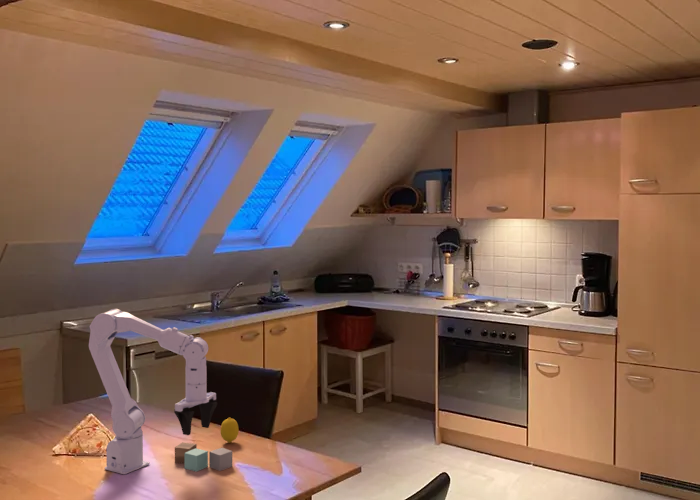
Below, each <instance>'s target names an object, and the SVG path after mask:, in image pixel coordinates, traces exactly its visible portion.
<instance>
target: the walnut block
mask: <svg viewBox="0 0 700 500" xmlns="http://www.w3.org/2000/svg"><path fill="white" fill-rule="evenodd" d="M197 446H198V445H197V443H191V442H183V441H182V442H181V443H180V444H178V445H176V446H175V447H174V463H176V464H177V463H178V464H181V465H182V464H183V465H185V453H186V452H188V451H190V450H193V449H195V448H197ZM197 449H198V448H197Z"/></svg>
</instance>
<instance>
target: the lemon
mask: <svg viewBox="0 0 700 500" xmlns="http://www.w3.org/2000/svg"><path fill="white" fill-rule="evenodd" d="M239 432H240V431H239V424H238V422H237V420H235V419H234V418H231V417H228V418H227V419H224V420H223V421H222V423H221V426H220V436H221V438H222V439H223V440H224V441H226V442H227V443H228V444H231V443H232V442H234V441H235V440H236V439H237V438H238V436H239Z"/></svg>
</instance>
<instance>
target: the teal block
mask: <svg viewBox="0 0 700 500" xmlns="http://www.w3.org/2000/svg"><path fill="white" fill-rule="evenodd" d="M208 453H209V451H208V450H205V449H200V448H195V449H193V450H190V451H188V452H186V453H185V464H184V469H185V470H188V471H192V472H200V471H201V470H203V469H206V468H207V467H209V466H208V465H209V454H208Z"/></svg>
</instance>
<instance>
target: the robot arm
mask: <svg viewBox="0 0 700 500" xmlns="http://www.w3.org/2000/svg"><path fill="white" fill-rule="evenodd" d="M88 327H89V330H90V332H89V340H88V349H89V352H90V354H91V357H92V359H93V362H94V364H95V367H96V369H97V372H98V374H99V377H100V380H101V382H102V385H103V387H104V389H105V391H106V394H107V397H108V399H109V402H110V405H111V411H110V412H111V413H110V416H111V420H112V431H113V433H114V435H115V437H114V438H113V439H112V440H109V442H108V443H107V445H106V466H104V470H106V471H110V472H113V473H117V474H120V475H126V474H129V473H131V472H134V471H136V470H138V469H141V468H144V467H146V466H148V465H150V462H149V461H146V460H144V441H143V440H144V435H143V433H144V432H143V430H142V426H143V425H144V424H145V422H146V414H145V412H144V410H143V409H141V408H140V407H139V405H138V403H137V401H135V399H133V398H132V397H131V395H130V392H129V390H128V388H127V384H126V382H125V380H124V378H123V375H122V373H121V370H120V368H119V365H118V362H117V361H116V357H115V356H114V353H113V350H112V346H111V345H112V343H113V341H114V339H115V338H116V336H117V335H118V334H120V333H126V332H133V333H136V334H138V335H141V336H144V337H146V338H150V339H153V340H156V341H157V342H158V345H159V346H160V347H161V348H163V349H165V350H168V351H171V352H172V353H175V354H177V355H180V356H182V357H183V358H184V359H185V369H184V370H185V398H183V399H181V400H180V401H179V402H177V403H174V410H173V411H174V414H175V416H176V418H177V419H178V422H179V425H180V427H181V428H180V429H181V431H182V435H183V436H184V435H185V436H191V432H192V422H193V417H194V413H195V411H193V410H191V409H190V408H193V407H195V406H198V407H199V412H200V424H201V428H205V429H208V428H210V425H211V420H212V416H213V414H214V411H215V410H216V408H217V407H218V401H217V393H216V392H212V391H210V392H207V390H208V389H207V386H208V385H207V383H208V382H207V381H208V380H207V379H208V378H207V356H206V355H208V352H209V345H208V342H207V341H206V340H205V339H203V338H202V337H199V336H198V337H194V335H192V334H189V335H188V334H186V333H184V332H181V331H179V328H177V327H175V326H174V327H172V328H171V327H167V328H164V329H162V328H161V327H158V326H156V325H154V324H152V323H150V322H147V321H145V320H144V319H141V318H140V317H137V316H135V315H133V314H131V313H129V312H128V311H122V310H121V309H118V308H111V309H109V310H108V311H105V312H102V313H99V314H97V315H95V317H94V318H93V320H92V321H91V323H90V325H89V326H88Z"/></svg>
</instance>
